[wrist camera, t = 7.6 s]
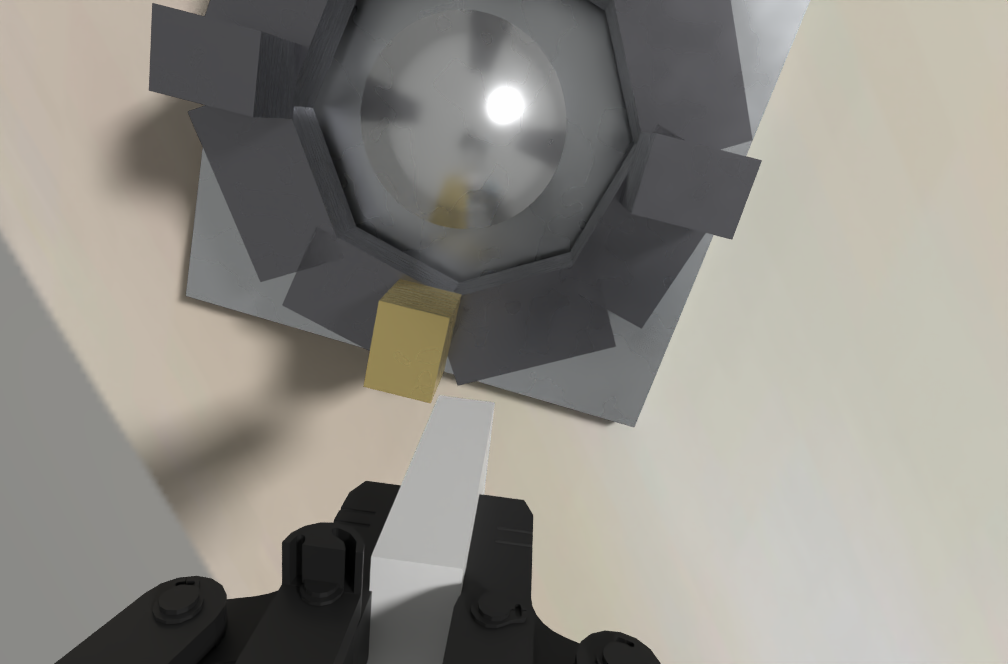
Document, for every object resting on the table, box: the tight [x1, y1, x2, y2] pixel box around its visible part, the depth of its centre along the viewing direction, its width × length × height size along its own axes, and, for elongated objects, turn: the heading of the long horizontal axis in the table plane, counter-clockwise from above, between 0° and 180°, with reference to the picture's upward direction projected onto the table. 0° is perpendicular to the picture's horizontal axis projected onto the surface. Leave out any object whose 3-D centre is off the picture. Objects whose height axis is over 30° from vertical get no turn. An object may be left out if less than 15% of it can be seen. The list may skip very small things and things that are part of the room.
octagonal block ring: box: [149, 0, 762, 403], centre depth 20 cm, size 18×18×6 cm
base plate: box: [186, 0, 810, 427], centre depth 22 cm, size 21×21×4 cm
